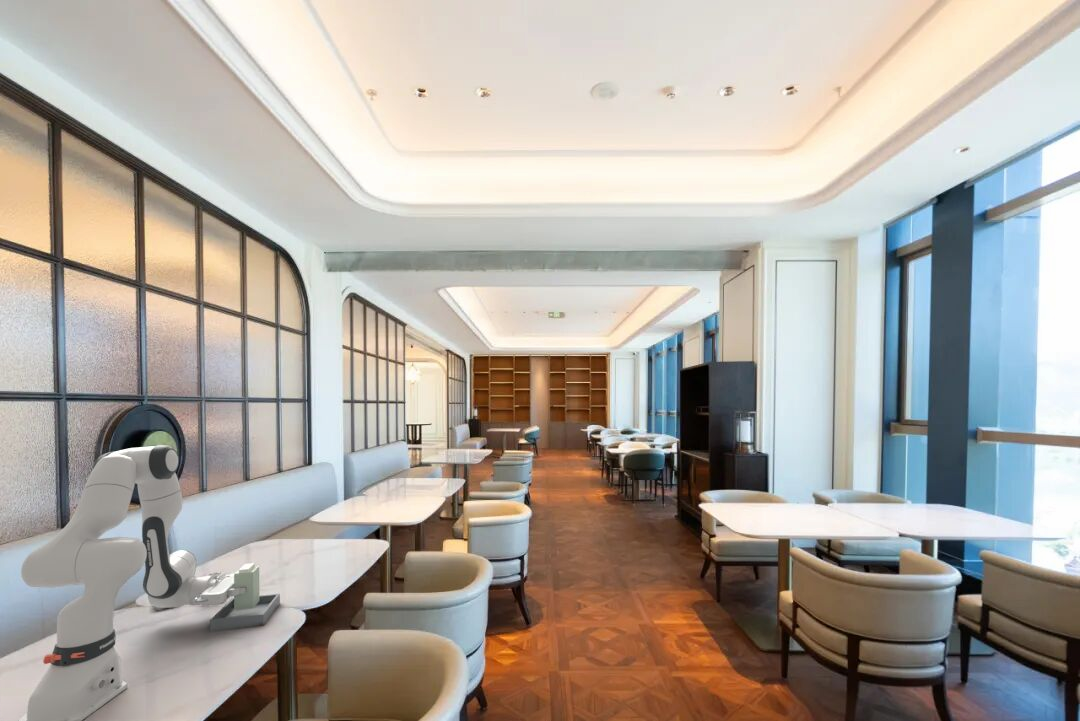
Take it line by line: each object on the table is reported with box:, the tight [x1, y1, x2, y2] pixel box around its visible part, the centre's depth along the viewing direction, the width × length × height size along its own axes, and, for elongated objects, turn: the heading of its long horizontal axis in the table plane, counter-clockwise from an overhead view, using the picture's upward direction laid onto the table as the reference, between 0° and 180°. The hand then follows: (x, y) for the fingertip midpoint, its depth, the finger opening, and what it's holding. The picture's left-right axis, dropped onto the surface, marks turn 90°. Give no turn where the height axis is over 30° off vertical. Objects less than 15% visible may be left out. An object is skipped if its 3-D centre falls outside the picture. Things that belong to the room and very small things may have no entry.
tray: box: [209, 593, 281, 632], centre depth 177 cm, size 18×16×4 cm
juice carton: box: [233, 562, 260, 610], centre depth 178 cm, size 6×6×13 cm
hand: (249, 585), depth 178 cm, fingers closed on juice carton, 6 cm apart
